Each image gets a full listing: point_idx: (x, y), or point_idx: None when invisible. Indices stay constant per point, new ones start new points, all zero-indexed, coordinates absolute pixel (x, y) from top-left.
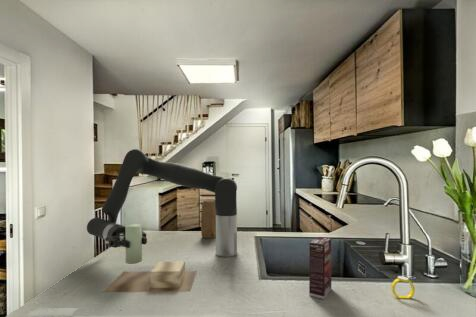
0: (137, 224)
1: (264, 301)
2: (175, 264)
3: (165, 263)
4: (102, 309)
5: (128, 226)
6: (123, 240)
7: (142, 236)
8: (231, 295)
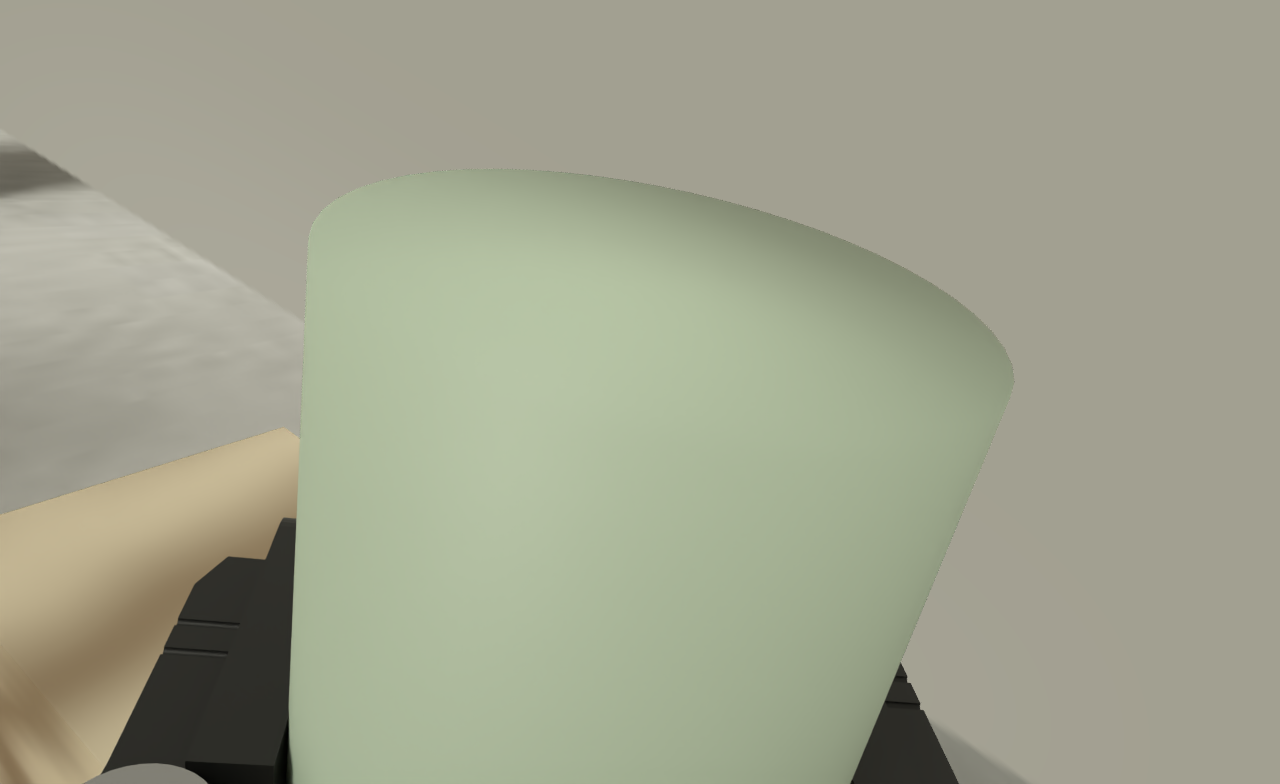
0: (414, 280)
1: (104, 284)
2: (114, 547)
3: (150, 652)
4: (957, 775)
5: (882, 317)
6: (907, 775)
7: (218, 677)
8: (120, 376)
